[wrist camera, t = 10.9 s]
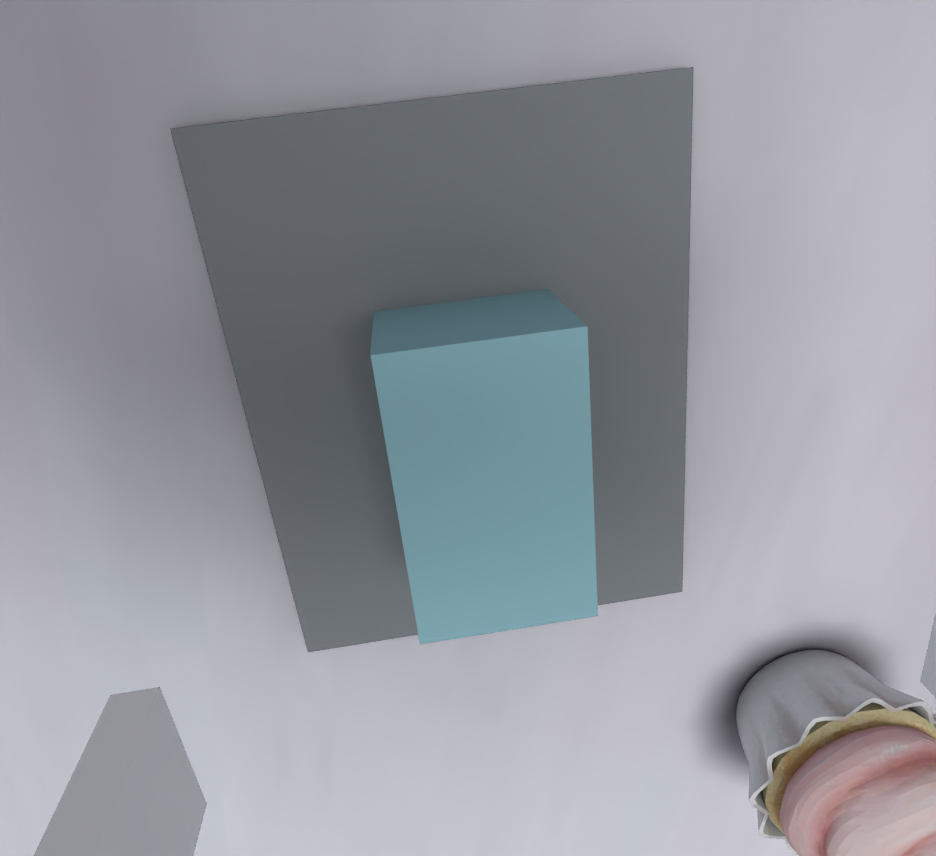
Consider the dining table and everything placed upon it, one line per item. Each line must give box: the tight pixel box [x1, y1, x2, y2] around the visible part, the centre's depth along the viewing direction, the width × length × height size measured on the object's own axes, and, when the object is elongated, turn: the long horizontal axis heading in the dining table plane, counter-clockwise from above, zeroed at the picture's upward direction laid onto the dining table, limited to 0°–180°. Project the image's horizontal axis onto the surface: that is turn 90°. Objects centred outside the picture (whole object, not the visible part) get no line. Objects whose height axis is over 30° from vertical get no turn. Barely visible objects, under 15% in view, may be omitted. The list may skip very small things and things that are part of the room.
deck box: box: [371, 289, 598, 644], centre depth 23 cm, size 6×10×5 cm, turn 6°
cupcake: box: [736, 650, 936, 856], centre depth 29 cm, size 9×9×10 cm
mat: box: [170, 67, 693, 652], centre depth 25 cm, size 20×16×1 cm
